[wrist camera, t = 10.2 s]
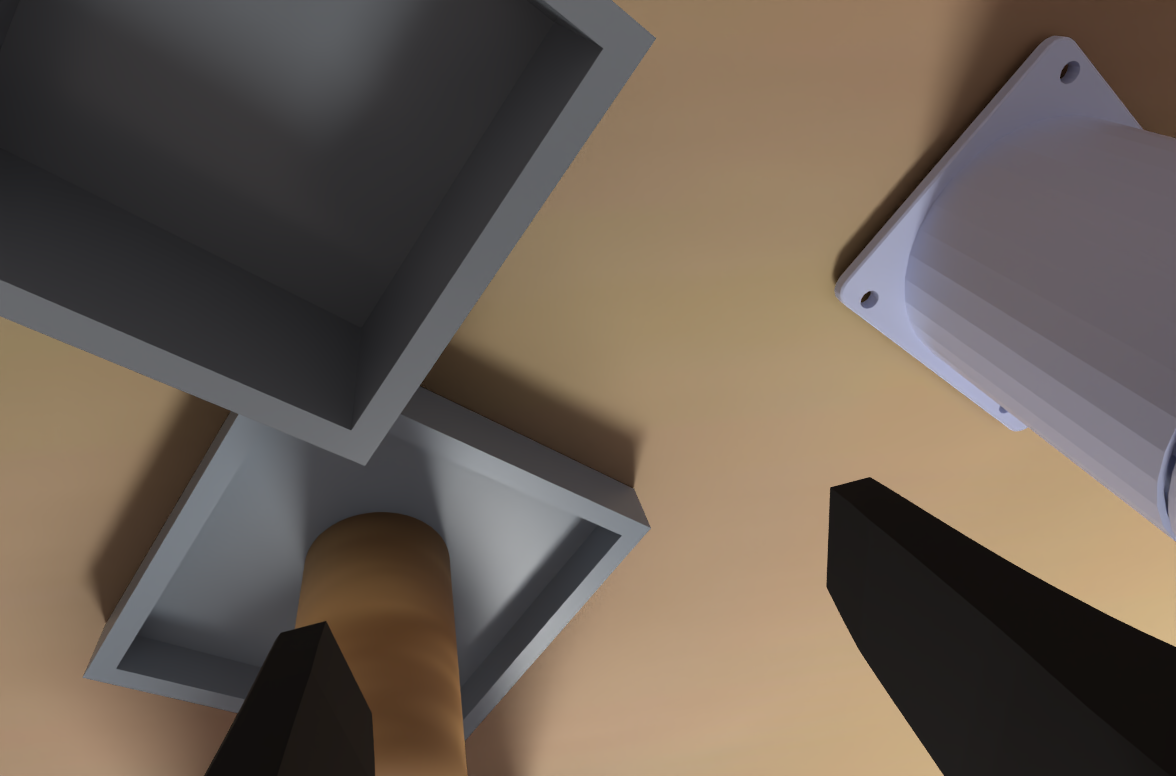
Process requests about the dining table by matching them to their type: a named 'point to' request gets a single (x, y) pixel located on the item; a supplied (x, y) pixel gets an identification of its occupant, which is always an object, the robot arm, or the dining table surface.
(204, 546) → the tray
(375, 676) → the dowel
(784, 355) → the dining table surface
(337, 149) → the grey square box
